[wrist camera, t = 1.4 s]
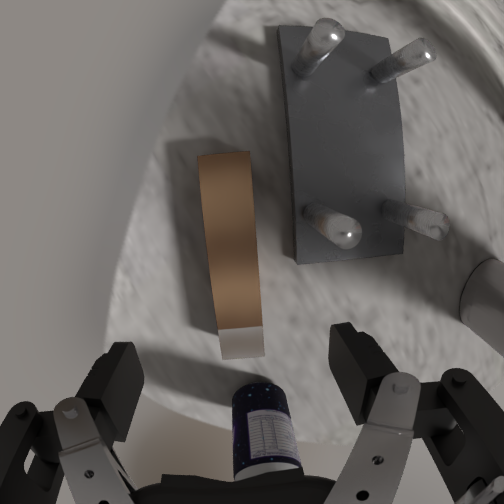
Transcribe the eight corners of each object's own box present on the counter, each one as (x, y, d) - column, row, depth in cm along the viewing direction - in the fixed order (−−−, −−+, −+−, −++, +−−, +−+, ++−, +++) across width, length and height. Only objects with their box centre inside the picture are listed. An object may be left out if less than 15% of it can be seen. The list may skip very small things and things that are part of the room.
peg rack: (382, 42, 19) (429, 9, 11) (396, 249, 25) (449, 281, 17) (276, 31, 19) (295, -21, 11) (294, 260, 24) (321, 302, 17)
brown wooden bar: (202, 158, 22) (197, 156, 18) (247, 154, 22) (249, 151, 19) (223, 337, 26) (222, 359, 23) (261, 334, 26) (264, 356, 23)
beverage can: (222, 387, 28) (221, 483, 16) (273, 369, 28) (292, 466, 16) (245, 417, 30) (251, 504, 18) (291, 401, 29) (313, 489, 18)
